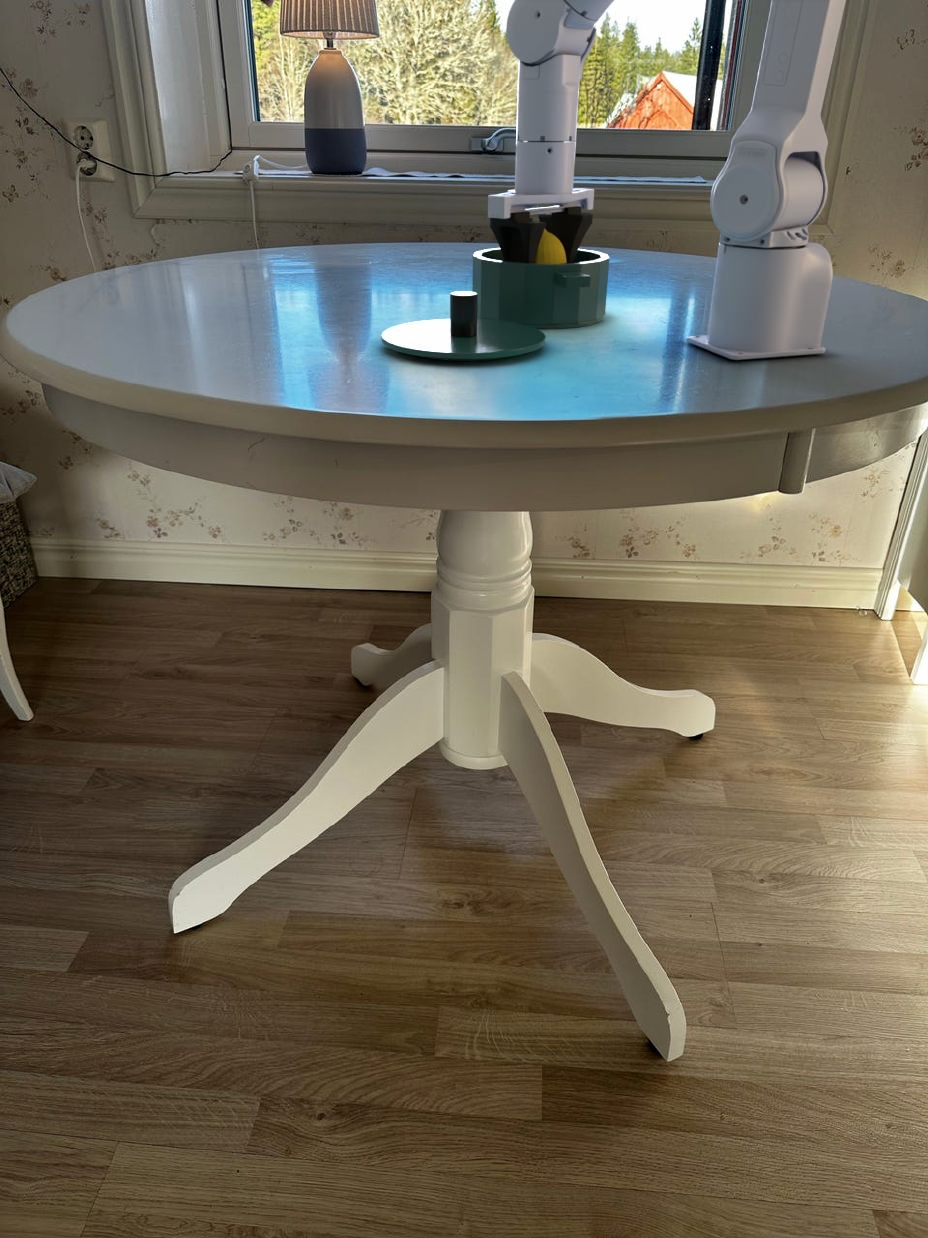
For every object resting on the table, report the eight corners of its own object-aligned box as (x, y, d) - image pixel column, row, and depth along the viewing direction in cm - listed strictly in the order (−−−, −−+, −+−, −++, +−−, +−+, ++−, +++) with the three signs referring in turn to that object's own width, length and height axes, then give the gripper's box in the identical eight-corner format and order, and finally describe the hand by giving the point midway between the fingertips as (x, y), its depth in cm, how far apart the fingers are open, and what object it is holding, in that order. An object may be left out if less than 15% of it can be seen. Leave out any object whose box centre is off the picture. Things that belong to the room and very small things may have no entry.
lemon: (520, 316, 93) (524, 230, 89) (504, 306, 97) (506, 224, 94) (572, 314, 94) (577, 229, 90) (553, 304, 99) (557, 223, 95)
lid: (511, 326, 91) (512, 277, 88) (571, 359, 79) (574, 303, 76) (365, 335, 87) (363, 283, 84) (405, 371, 75) (404, 312, 72)
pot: (562, 297, 106) (565, 241, 103) (639, 329, 90) (645, 265, 87) (448, 302, 102) (448, 245, 99) (508, 337, 86) (510, 271, 83)
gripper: (558, 139, 95) (551, 278, 102) (464, 141, 86) (463, 294, 92) (615, 141, 91) (604, 285, 98) (523, 143, 82) (517, 302, 88)
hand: (539, 290), depth 95 cm, fingers closed on lemon, 5 cm apart
